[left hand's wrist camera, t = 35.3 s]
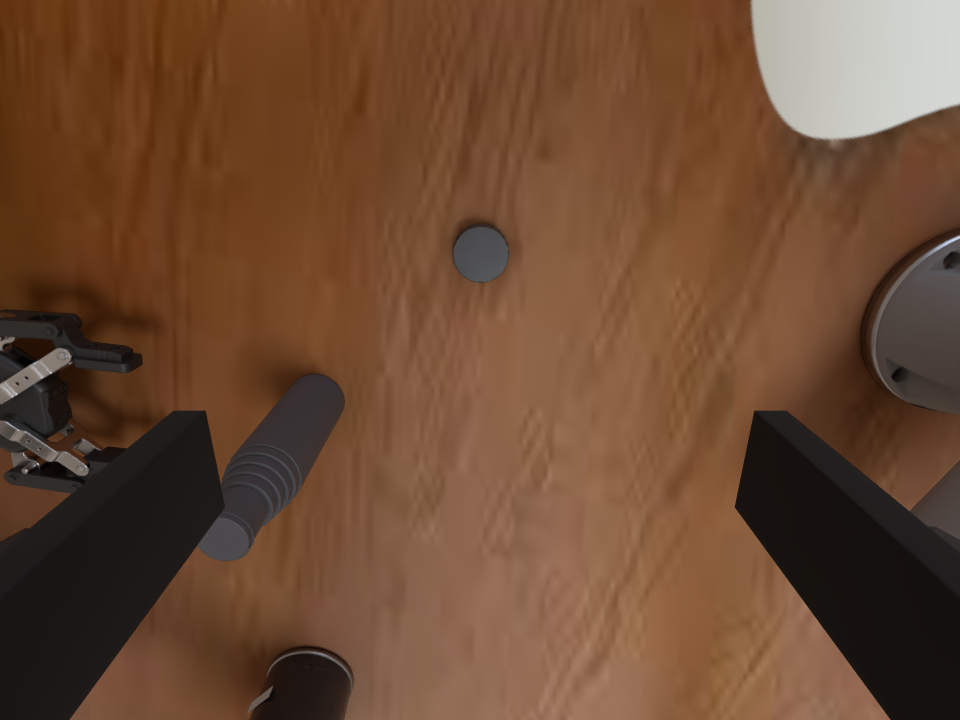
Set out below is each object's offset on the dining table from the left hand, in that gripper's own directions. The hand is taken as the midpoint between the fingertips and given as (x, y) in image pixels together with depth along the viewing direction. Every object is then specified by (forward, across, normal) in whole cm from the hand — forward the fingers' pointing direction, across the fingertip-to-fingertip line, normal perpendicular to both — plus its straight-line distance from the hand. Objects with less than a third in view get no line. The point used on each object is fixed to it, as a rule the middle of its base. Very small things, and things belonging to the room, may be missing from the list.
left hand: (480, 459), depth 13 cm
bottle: (+31, +14, +13) cm, 37 cm away
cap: (+30, 0, 0) cm, 30 cm away
